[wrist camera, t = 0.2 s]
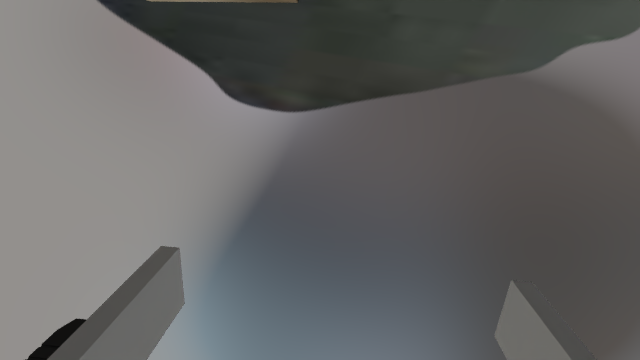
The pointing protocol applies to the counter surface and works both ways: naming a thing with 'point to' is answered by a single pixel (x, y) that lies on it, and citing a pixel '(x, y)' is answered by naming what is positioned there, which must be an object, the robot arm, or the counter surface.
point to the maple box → (289, 0)
